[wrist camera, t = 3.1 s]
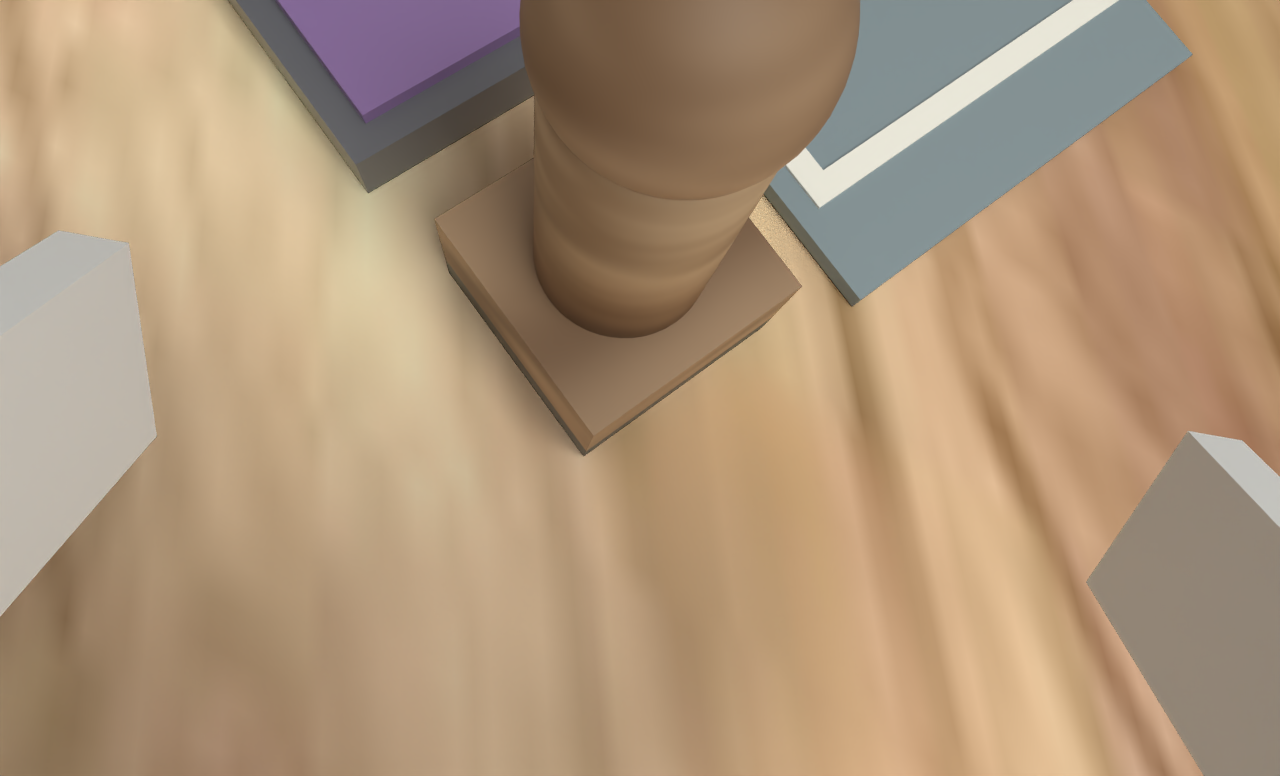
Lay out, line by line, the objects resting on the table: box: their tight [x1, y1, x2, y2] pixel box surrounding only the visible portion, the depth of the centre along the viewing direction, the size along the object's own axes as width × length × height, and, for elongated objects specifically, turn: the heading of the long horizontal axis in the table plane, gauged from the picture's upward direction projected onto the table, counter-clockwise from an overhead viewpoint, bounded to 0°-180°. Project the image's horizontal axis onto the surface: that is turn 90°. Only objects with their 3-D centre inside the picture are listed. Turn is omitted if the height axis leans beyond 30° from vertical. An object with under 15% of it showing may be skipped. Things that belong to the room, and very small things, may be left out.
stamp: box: [434, 0, 860, 456], centre depth 15 cm, size 6×6×14 cm
